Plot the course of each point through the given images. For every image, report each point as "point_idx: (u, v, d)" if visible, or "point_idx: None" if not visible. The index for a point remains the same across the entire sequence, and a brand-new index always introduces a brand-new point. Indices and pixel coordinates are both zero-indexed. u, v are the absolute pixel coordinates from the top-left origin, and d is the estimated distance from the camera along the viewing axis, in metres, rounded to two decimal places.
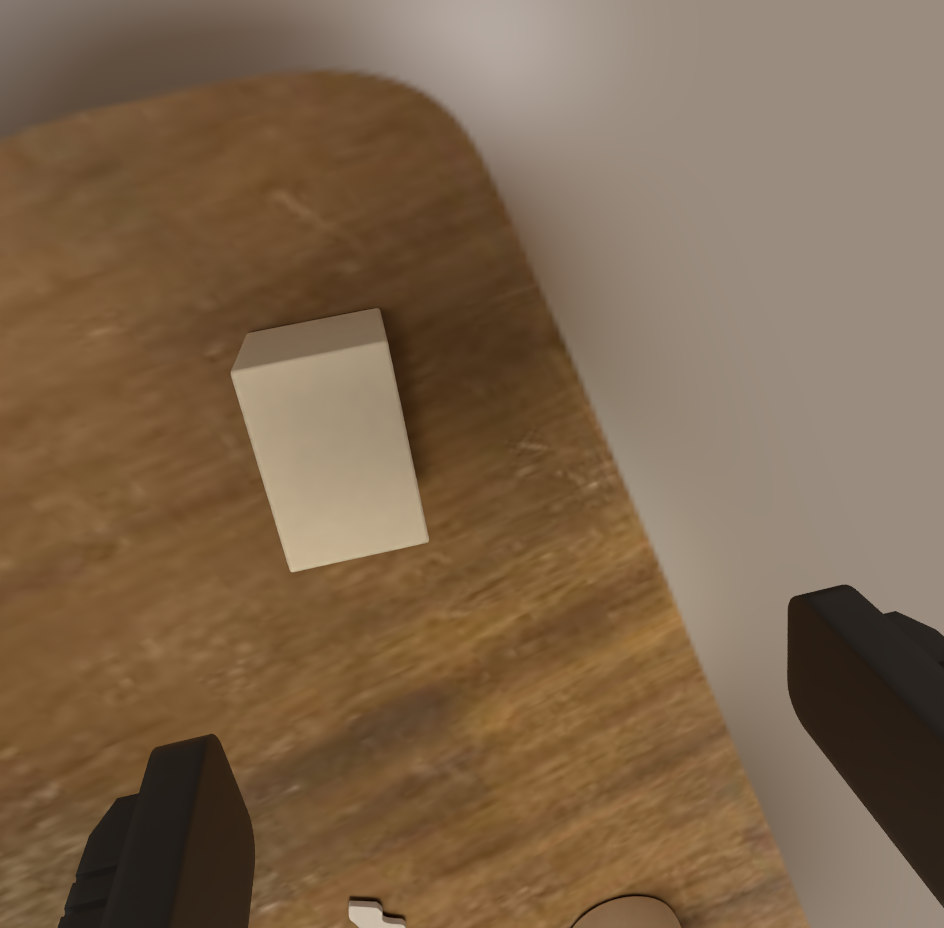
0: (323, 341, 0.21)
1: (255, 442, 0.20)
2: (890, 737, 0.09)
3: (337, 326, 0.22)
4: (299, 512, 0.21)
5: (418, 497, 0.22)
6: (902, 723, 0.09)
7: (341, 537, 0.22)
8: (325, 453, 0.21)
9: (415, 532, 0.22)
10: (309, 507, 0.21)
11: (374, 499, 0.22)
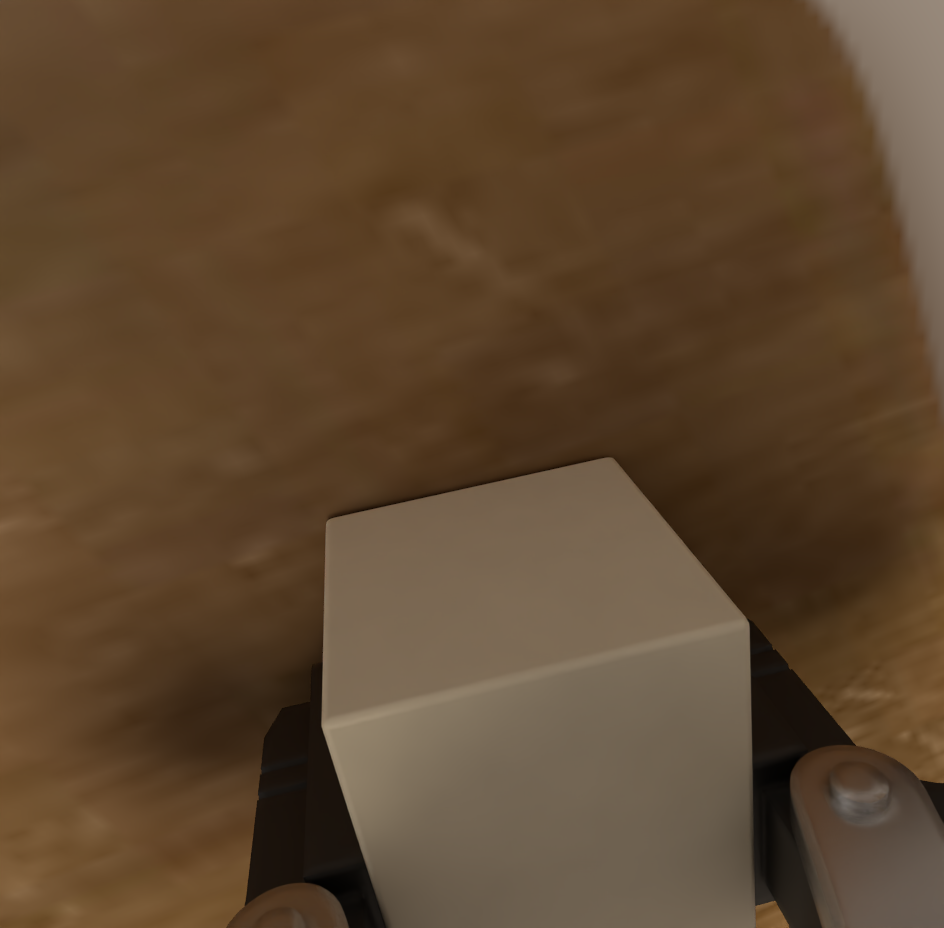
0: (547, 592, 0.08)
1: (380, 874, 0.08)
2: None
3: (549, 522, 0.09)
4: None
5: None
6: None
7: None
8: (554, 879, 0.08)
9: None
10: None
11: None
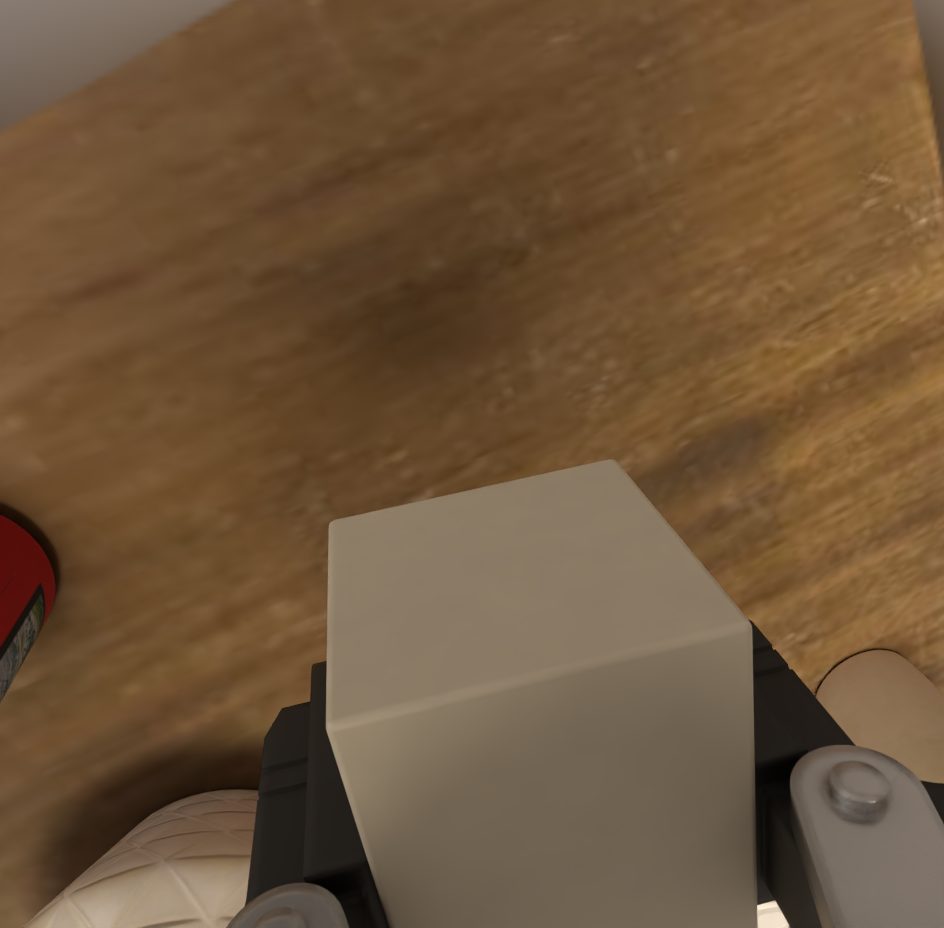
0: (550, 594, 0.08)
1: (384, 876, 0.08)
2: None
3: (552, 524, 0.09)
4: None
5: None
6: None
7: None
8: (557, 880, 0.08)
9: None
10: None
11: None
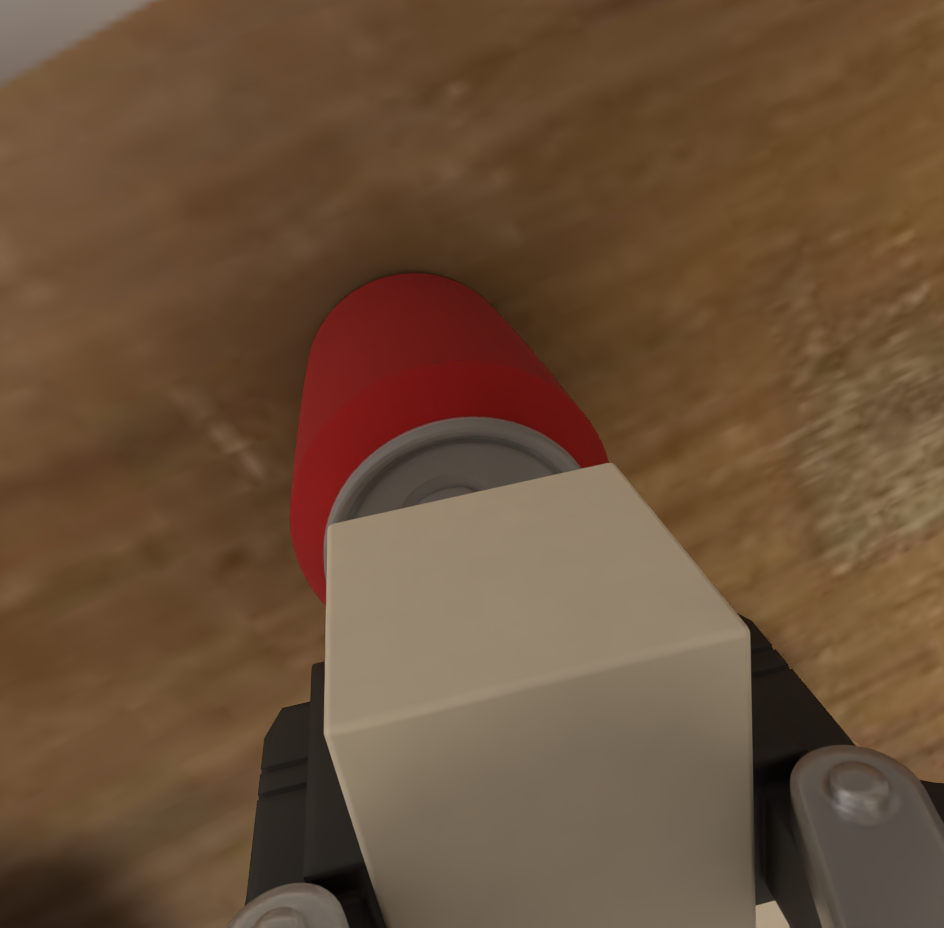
0: (549, 599, 0.08)
1: (382, 881, 0.08)
2: None
3: (551, 528, 0.09)
4: None
5: None
6: None
7: None
8: (555, 884, 0.08)
9: None
10: None
11: None
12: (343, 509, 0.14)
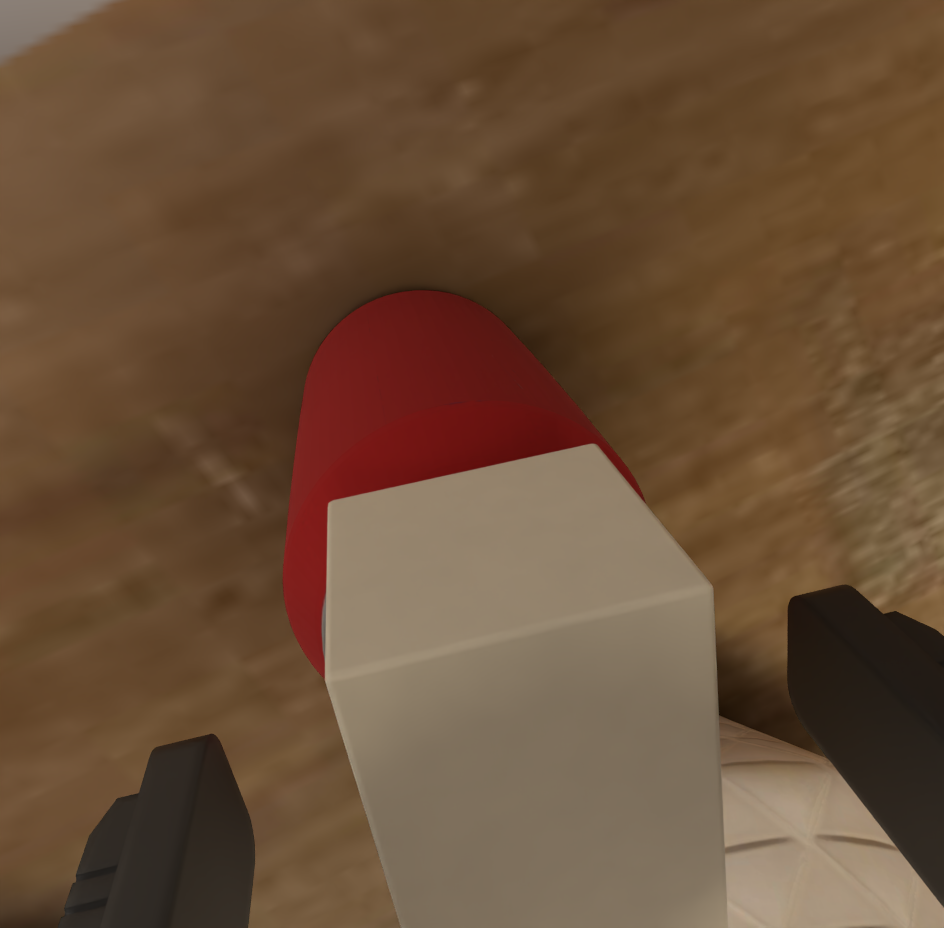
0: (531, 562, 0.09)
1: (378, 819, 0.08)
2: (890, 737, 0.09)
3: (535, 502, 0.10)
4: None
5: (724, 887, 0.10)
6: (902, 723, 0.09)
7: None
8: (538, 826, 0.09)
9: None
10: None
11: (632, 901, 0.10)
12: None
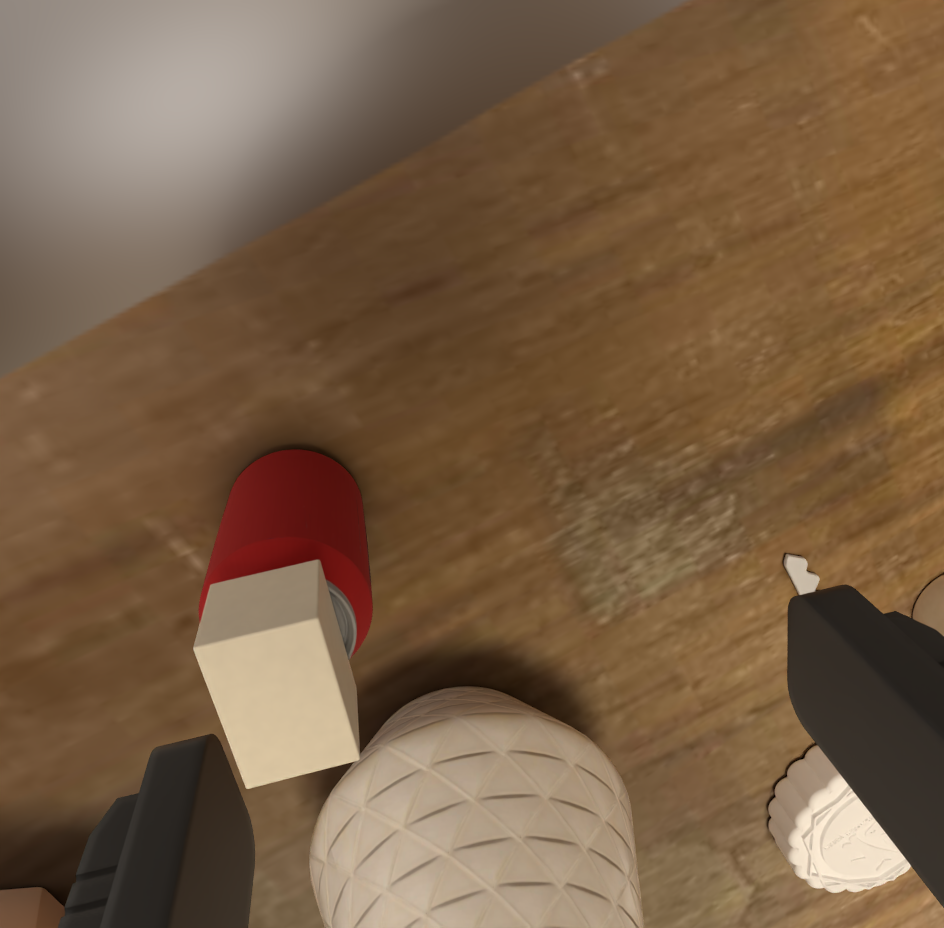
0: (269, 610, 0.26)
1: (214, 696, 0.25)
2: (890, 737, 0.09)
3: (283, 586, 0.27)
4: (251, 744, 0.26)
5: (349, 727, 0.27)
6: (902, 723, 0.09)
7: (286, 761, 0.27)
8: (271, 701, 0.26)
9: (348, 753, 0.27)
10: (260, 740, 0.26)
11: (313, 731, 0.27)
12: None
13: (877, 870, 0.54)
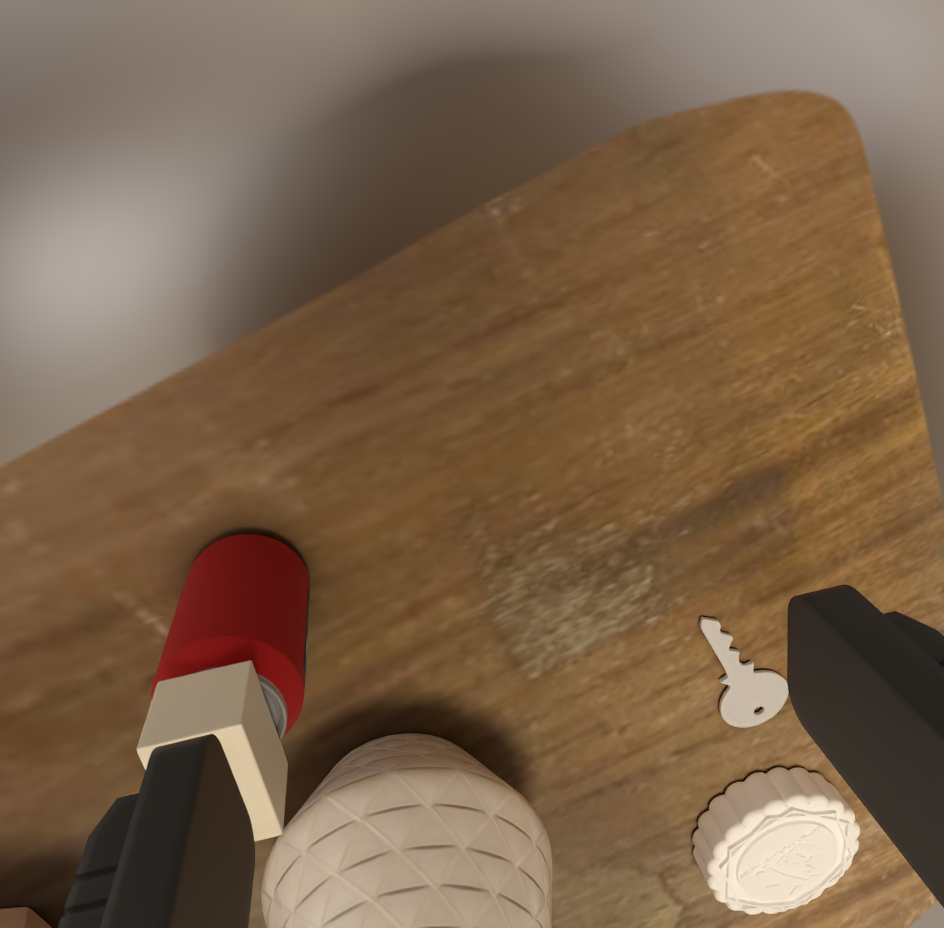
0: (202, 713, 0.31)
1: None
2: (890, 737, 0.09)
3: (217, 688, 0.32)
4: None
5: (272, 809, 0.32)
6: (902, 723, 0.09)
7: None
8: None
9: (272, 829, 0.32)
10: None
11: None
12: None
13: (790, 895, 0.59)
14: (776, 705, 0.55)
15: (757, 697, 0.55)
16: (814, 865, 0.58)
